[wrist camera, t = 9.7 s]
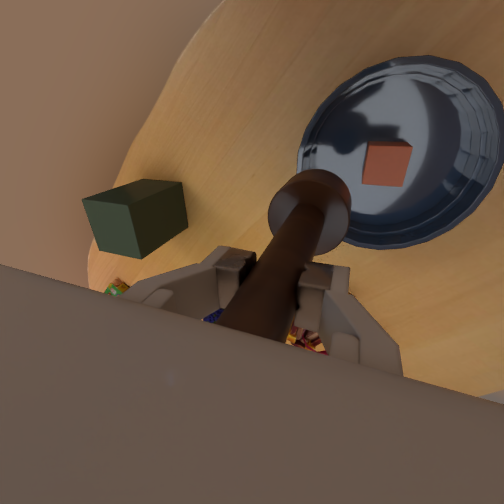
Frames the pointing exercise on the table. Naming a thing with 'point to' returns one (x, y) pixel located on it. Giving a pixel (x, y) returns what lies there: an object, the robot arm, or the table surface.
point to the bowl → (417, 135)
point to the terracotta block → (386, 163)
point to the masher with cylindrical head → (290, 252)
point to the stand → (137, 216)
